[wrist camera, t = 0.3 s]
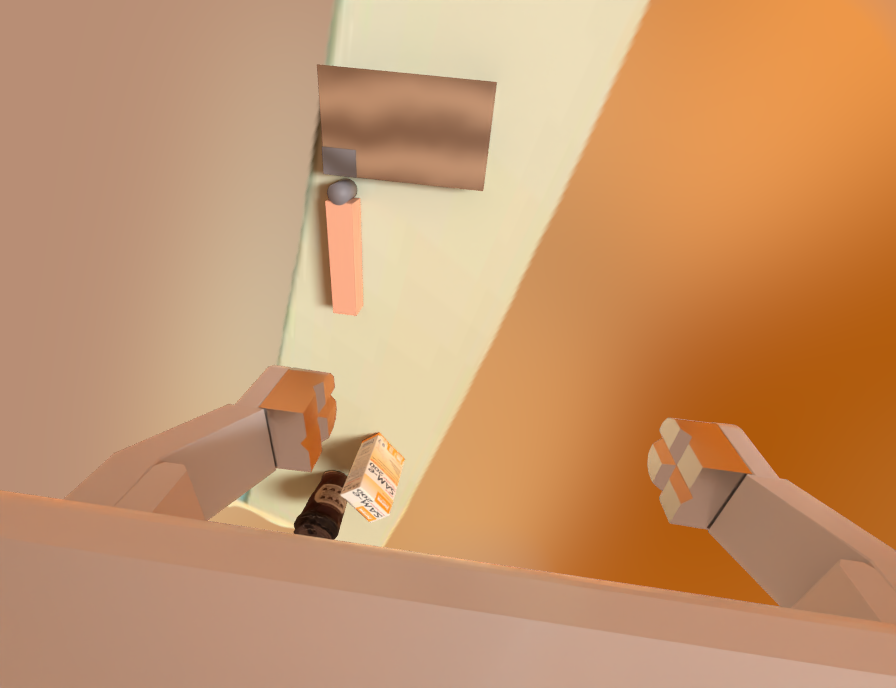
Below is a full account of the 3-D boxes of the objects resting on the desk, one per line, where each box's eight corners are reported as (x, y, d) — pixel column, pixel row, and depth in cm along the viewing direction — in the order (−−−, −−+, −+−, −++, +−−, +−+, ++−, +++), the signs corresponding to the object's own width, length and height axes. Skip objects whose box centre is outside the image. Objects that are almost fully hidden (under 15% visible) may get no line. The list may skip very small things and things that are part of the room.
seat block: (330, 67, 47) (315, 64, 43) (496, 83, 46) (496, 82, 42) (335, 169, 52) (323, 173, 49) (483, 185, 51) (483, 191, 48)
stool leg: (334, 177, 53) (323, 182, 49) (360, 179, 53) (350, 185, 49) (341, 302, 62) (332, 313, 59) (363, 304, 62) (355, 316, 59)
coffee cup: (327, 459, 81) (300, 515, 70) (363, 476, 83) (342, 534, 72) (311, 482, 86) (284, 538, 75) (346, 498, 87) (325, 555, 76)
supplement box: (406, 458, 79) (391, 516, 68) (387, 466, 81) (370, 524, 69) (380, 430, 76) (359, 487, 65) (361, 439, 78) (338, 496, 66)
